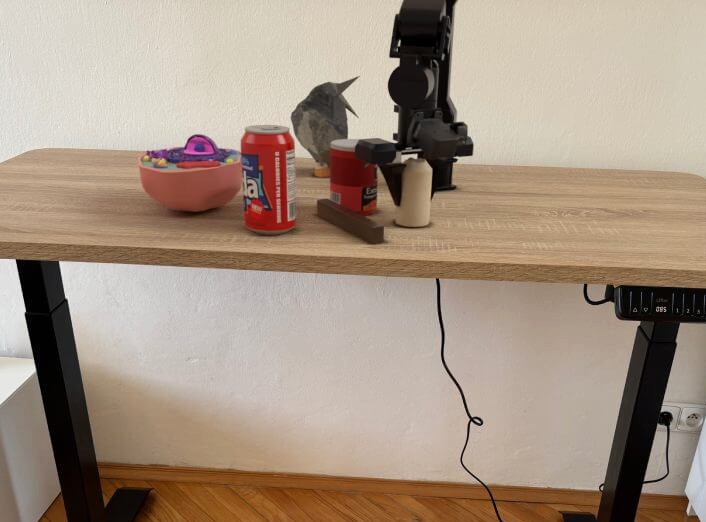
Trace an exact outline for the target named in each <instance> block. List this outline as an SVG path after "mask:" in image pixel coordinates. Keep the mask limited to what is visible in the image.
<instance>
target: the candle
mask: <svg viewBox="0 0 706 522" xmlns="http://www.w3.org/2000/svg"><path fill="white" fill-rule="evenodd" d="M402 163H404V164H407V166H406V167H405V169H404V171H403V173H402V192H401V203H400V206H396V205H395V211H394V212H395V213H394V214H395V215H394V221H395V224H396V225H398V226H403V227H409V228H410V227H411V228H412V227H413V228H418V227H425V226H427V225H429V223H430V213H431V202H432V201H431V184H432V168H431V167H430V165H429V164H428V163H427V161H426V160H425V159H422V158H418V159H417V158H414V157H411V156H410V157H408V158H406V159H404V161H402ZM430 201H431V202H430Z"/></svg>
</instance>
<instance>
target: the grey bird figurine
mask: <svg viewBox="0 0 706 522" xmlns="http://www.w3.org/2000/svg"><path fill="white" fill-rule="evenodd" d="M360 77H361V75H358V76H356V77H353V78H351V79H347V80H345V81H342V82H332V81H327V82H323V83H321V84H318V85H316V86H314V87H313V88H312V89H311V90H310V92H309V93H308V95H307V96H306V97H305V98H304V99H303V100H301V101H300V102H299V103H298V104H297V105H296V106H295V109H294V110H293V111H291V114H290V121H291V124H292V129H293V133H294V136H295V138H296V140H297V141H298V142H299V144H300V146H301V147H302V148H304V149H305V150H306V151H307V152H308V153H309V155H310V156H311V157H312V158H313V160H314V176H315V177H317V178H330V146H331V142H332V141H335V140H340V139H349V124H348V115H347V110H348V111H349V113H351V114H352V115H354V116H355V117H356V118H357V119H360V117H359V116H358V115H357V113H356V112H355V110H354V109H353V107H352V106H351V105H350V103H349V102H348V100H347V99H346V98H345V96H344V95H343V93H344V92H345V91H346V90H347V89H348V88H349V87H351V86H352V85H353V83H355V82H356V81H357V80H358V79H359V78H360Z"/></svg>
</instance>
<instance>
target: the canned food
mask: <svg viewBox="0 0 706 522" xmlns="http://www.w3.org/2000/svg"><path fill="white" fill-rule="evenodd" d="M359 139H360V138H359ZM359 139H358V138H348V139H340V140H335V141H332V142H331V146H330V177H329V200H332V201H334V202H336V203H338V204H340V205H342V206H344V207H346V208H348V209H350V210H352V211H354V212H357V213H359V214H361V215H363V216H369V215H373V214H374V213H376V211H377V207H378V182H379V181H378V180H379V167H378V165H376V164H370V163H367V162H364V161H362V160H359V159H356V158H355V146H356V144H357V142H358V141H359Z"/></svg>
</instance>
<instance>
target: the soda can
mask: <svg viewBox="0 0 706 522" xmlns="http://www.w3.org/2000/svg"><path fill="white" fill-rule="evenodd" d="M295 142H296V141H295V139H294V137H293V136H292V133H290V127H288V126H284V125H279V124H278V125H276V124H255V125H247V126H246V127H244V133H243V135H242V136H241V138H240V152H241V162H242V199H243V218H244V225H245V227H246V228H247V229H249V230H251V231H252V232H254V233H256V234H259V235H266V236H276V235H283V234H286V233H288V232H289V231H291V230H292V229H294V228H295V227H296V226H297V192H296V191H297V190H296V189H297V188H296V186H297V185H296V144H295Z"/></svg>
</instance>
